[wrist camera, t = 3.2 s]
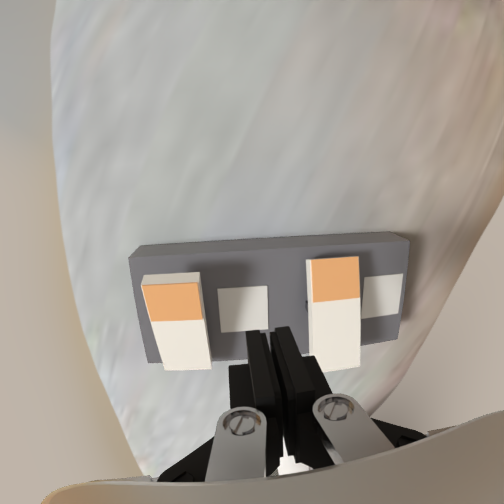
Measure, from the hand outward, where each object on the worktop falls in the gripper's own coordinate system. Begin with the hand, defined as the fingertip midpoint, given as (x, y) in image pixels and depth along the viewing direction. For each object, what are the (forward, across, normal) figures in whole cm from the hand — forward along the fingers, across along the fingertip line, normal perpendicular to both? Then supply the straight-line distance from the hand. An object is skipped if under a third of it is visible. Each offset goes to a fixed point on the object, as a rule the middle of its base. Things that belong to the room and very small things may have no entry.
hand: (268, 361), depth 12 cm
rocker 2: (+12, -7, +4) cm, 14 cm away
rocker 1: (+12, +5, +4) cm, 13 cm away
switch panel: (+18, -2, +4) cm, 19 cm away
